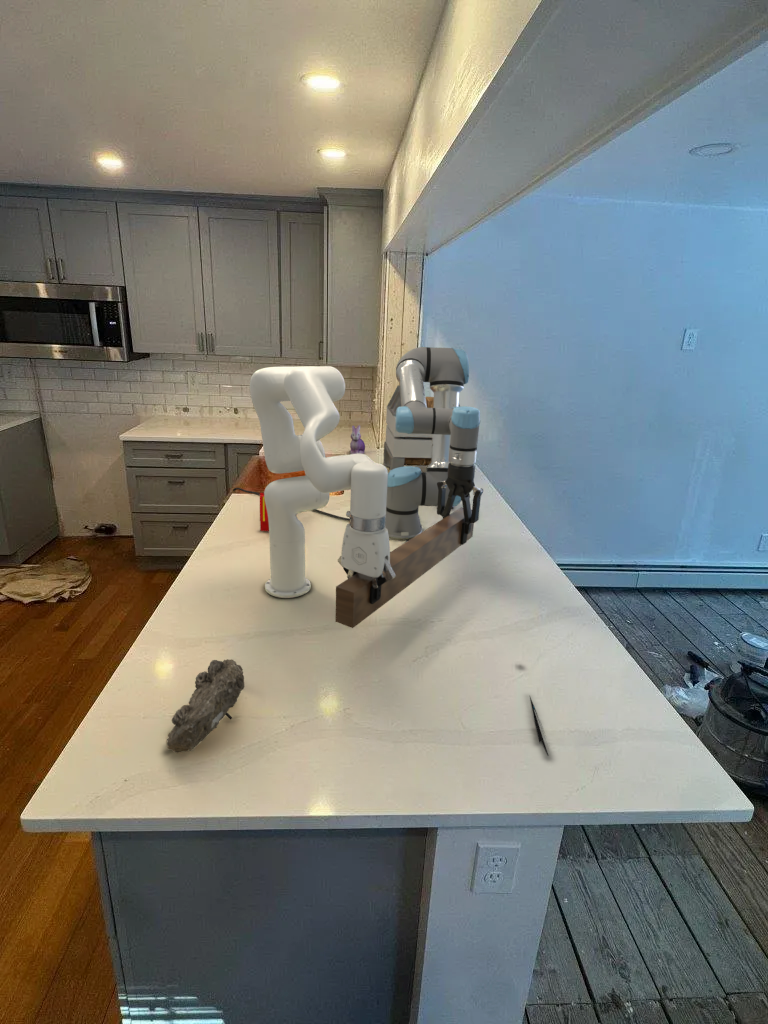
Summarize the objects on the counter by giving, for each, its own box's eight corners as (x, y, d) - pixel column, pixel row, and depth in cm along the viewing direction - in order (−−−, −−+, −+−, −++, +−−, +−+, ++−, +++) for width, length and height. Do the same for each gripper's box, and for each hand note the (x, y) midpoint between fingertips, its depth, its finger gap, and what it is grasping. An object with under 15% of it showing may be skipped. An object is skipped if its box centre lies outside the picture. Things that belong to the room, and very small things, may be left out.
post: (458, 533, 173) (461, 507, 170) (472, 536, 171) (475, 510, 168) (335, 621, 122) (335, 586, 119) (352, 628, 119) (353, 592, 116)
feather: (521, 671, 128) (526, 665, 127) (548, 760, 101) (555, 753, 101) (514, 667, 128) (520, 661, 127) (540, 755, 101) (547, 748, 101)
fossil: (192, 660, 117) (244, 628, 112) (224, 691, 120) (276, 661, 115) (142, 746, 98) (202, 712, 93) (182, 779, 101) (242, 748, 96)
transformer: (382, 463, 289) (386, 382, 275) (445, 464, 293) (451, 384, 279) (390, 482, 257) (394, 392, 243) (460, 483, 261) (468, 394, 247)
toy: (300, 481, 221) (289, 494, 192) (300, 514, 224) (289, 533, 194) (268, 480, 221) (253, 493, 191) (269, 514, 223) (254, 532, 194)
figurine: (353, 455, 301) (353, 427, 296) (345, 451, 309) (345, 424, 304) (369, 454, 305) (370, 426, 300) (361, 450, 314) (361, 423, 308)
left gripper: (324, 517, 121) (323, 593, 127) (392, 536, 112) (388, 616, 119) (345, 507, 127) (343, 581, 133) (411, 525, 118) (406, 602, 125)
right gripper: (427, 460, 159) (422, 537, 167) (486, 472, 150) (477, 552, 158) (439, 455, 165) (434, 530, 173) (497, 466, 156) (488, 544, 164)
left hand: (364, 597), depth 126 cm, fingers closed on post, 4 cm apart
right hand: (455, 540), depth 165 cm, fingers closed on post, 5 cm apart
